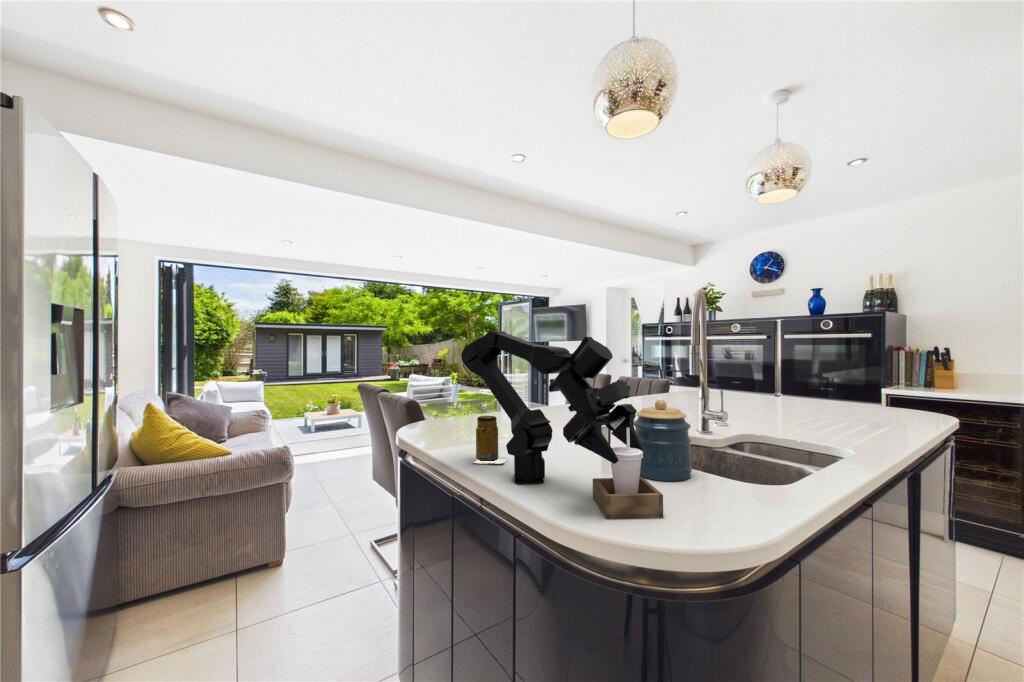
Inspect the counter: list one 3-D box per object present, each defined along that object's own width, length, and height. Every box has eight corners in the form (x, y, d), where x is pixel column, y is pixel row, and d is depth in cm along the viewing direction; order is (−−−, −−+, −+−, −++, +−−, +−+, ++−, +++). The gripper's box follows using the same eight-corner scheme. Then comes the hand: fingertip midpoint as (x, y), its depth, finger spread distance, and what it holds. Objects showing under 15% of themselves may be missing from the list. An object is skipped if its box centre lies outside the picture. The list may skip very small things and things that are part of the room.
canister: (694, 484, 90) (693, 403, 90) (633, 479, 94) (631, 402, 94) (688, 468, 102) (687, 397, 103) (634, 464, 106) (633, 396, 107)
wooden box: (606, 519, 72) (605, 496, 72) (593, 498, 82) (592, 478, 82) (663, 517, 72) (663, 494, 72) (643, 497, 82) (642, 477, 82)
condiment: (478, 457, 115) (478, 414, 116) (508, 458, 114) (507, 415, 114) (471, 464, 108) (471, 418, 109) (502, 465, 107) (502, 419, 107)
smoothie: (640, 511, 73) (638, 432, 73) (604, 505, 76) (603, 429, 76) (647, 499, 79) (645, 426, 79) (613, 494, 82) (612, 423, 82)
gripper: (575, 368, 74) (632, 438, 66) (627, 365, 87) (680, 423, 79) (542, 408, 79) (591, 478, 71) (596, 399, 93) (642, 457, 85)
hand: (629, 457), depth 77 cm, fingers open, 9 cm apart
